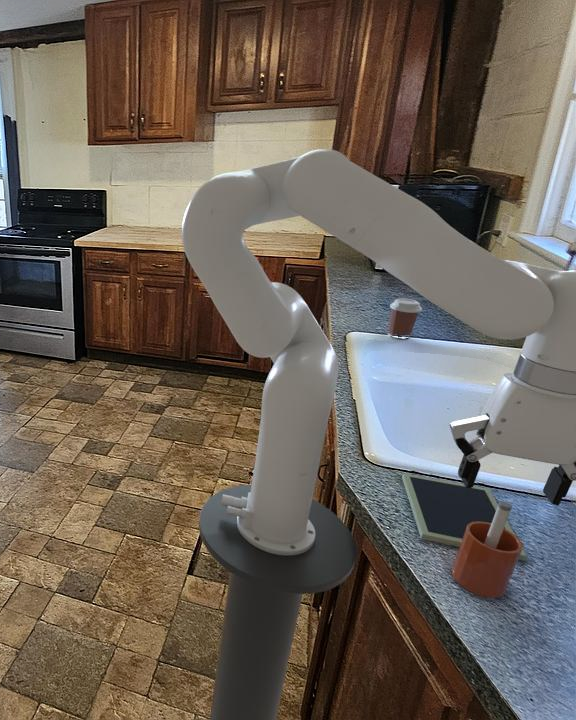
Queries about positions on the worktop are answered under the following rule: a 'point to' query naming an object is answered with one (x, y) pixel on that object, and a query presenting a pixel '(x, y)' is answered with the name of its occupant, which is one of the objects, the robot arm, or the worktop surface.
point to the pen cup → (486, 561)
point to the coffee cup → (403, 316)
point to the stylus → (498, 524)
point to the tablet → (448, 508)
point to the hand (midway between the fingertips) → (507, 490)
